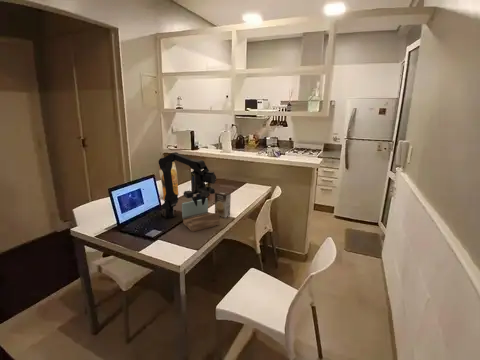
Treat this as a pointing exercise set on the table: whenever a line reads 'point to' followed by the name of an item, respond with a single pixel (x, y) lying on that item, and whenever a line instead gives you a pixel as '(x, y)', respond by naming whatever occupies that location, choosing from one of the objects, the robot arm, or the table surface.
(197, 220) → the brown wooden block
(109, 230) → the table surface
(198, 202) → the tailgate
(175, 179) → the pancake mix bag
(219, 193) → the coffee box
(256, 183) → the table surface
